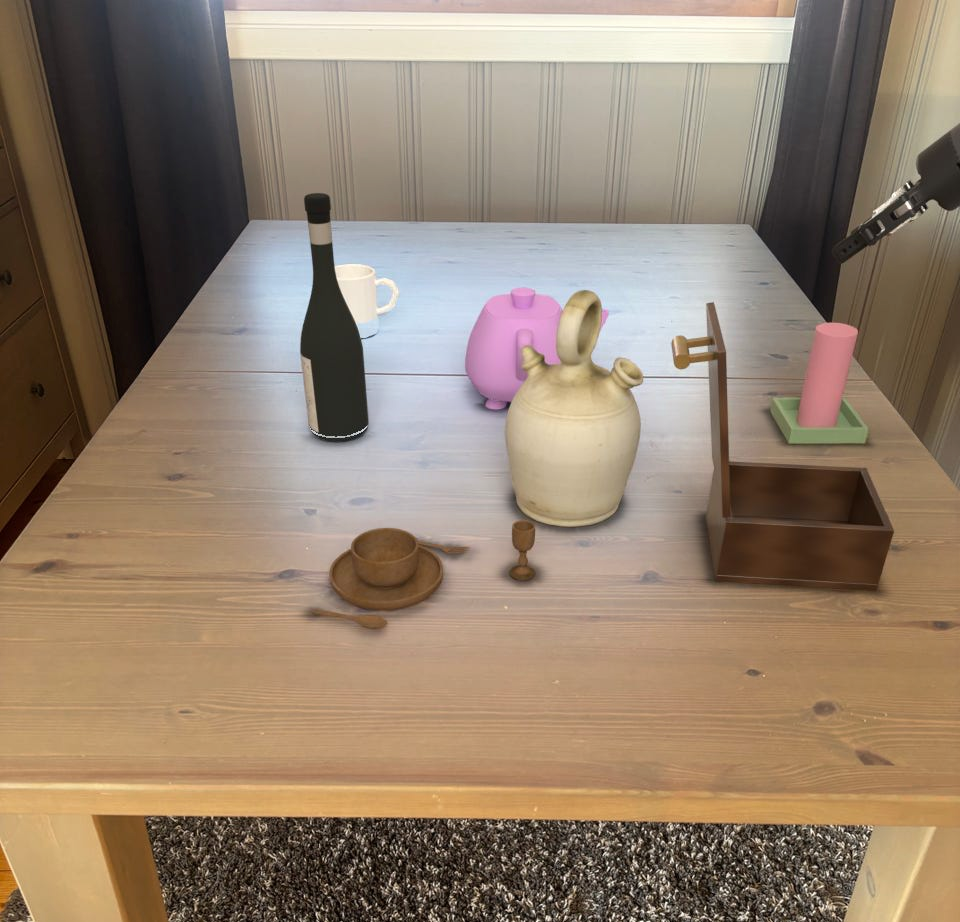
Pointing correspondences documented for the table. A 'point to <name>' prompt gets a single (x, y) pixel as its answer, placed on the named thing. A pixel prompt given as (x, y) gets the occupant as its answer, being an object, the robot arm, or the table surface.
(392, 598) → the place setting
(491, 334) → the teapot
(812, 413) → the tube
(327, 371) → the wine bottle
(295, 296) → the table surface
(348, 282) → the mug
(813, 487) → the chest
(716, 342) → the chest lid
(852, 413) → the tray
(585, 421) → the jug
